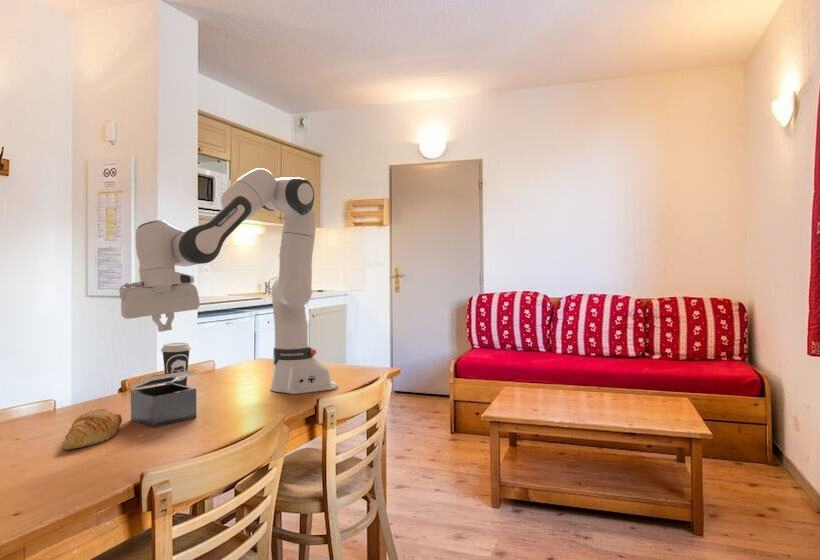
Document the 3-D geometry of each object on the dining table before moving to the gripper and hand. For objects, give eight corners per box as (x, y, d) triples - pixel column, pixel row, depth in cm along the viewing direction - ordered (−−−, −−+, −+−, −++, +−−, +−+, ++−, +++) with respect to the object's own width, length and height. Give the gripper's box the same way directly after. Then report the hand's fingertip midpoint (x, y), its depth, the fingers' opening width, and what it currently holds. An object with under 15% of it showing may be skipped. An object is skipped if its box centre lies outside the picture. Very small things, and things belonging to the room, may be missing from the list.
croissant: (78, 468, 117) (94, 437, 117) (37, 448, 117) (53, 416, 117) (128, 436, 139) (142, 410, 138) (93, 419, 138) (107, 392, 138)
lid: (130, 389, 143) (129, 383, 144) (173, 382, 153) (172, 375, 153) (152, 380, 137) (150, 373, 137) (194, 373, 146) (193, 366, 146)
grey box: (131, 419, 143) (130, 390, 143) (173, 410, 153) (172, 383, 153) (153, 427, 136) (153, 396, 136) (196, 417, 146) (196, 388, 146)
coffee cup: (196, 384, 190) (195, 342, 189) (182, 390, 180) (181, 346, 180) (170, 383, 190) (170, 342, 190) (155, 389, 181) (155, 345, 181)
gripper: (124, 282, 133) (131, 337, 133) (199, 276, 149) (205, 324, 149) (113, 285, 137) (120, 337, 137) (187, 278, 153) (193, 325, 153)
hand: (165, 330), depth 143 cm, fingers closed
